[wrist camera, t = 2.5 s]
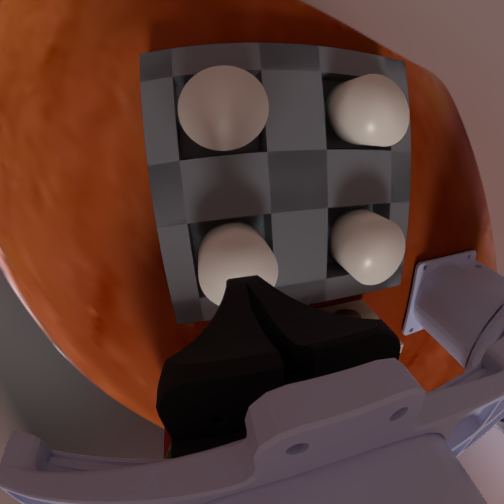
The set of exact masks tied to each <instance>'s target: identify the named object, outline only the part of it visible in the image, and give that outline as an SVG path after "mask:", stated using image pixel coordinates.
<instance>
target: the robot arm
mask: <svg viewBox="0 0 504 504" xmlns="http://www.w3.org/2000/svg"><path fill="white" fill-rule="evenodd" d="M476 254H477V253H476V251H475V250H471V251H467V252H462V253H458V254H454V255H449V256H445V257H441V258H436V259H432V260H427V261H423V262H419V263H418V264H417V265H416V268H415V274H414V279H413V285H412V290H411V295H410V300H409V304H408V309H407V313H406V318H405V322H404V326H403V330H402V333H403V334H404V335H408V334H411V333H414V332H417V331H419V330H422V329H425V330H426V331H427V332H428V333H429V334H430V335H431V336H432V337H433V338H435V339H436V340H437V341H438V342H439V343H440V344H441V345H442V346H443V347H444V348H445V349H446V350H447V351H448V352H449V353H450V354H451V355H452V356H453V357H454V358H455V359H456V360H457V361H458V362H459V363H460V364H461V365H462V366H463V367H464V368H465V371H464V373H463V374H461V375H460V376H458V377H456V378H455V379H453V380H451V381H449V382H447V383H446V384H444V385H442V386H440V387H438V388H436V389H434V390H432V391H429V392H425V391H424V389H423V388H422V387H421V386H420V384H419V383H418V382H417V381H416V379H415V378H414V377H413V376H412V375H411V373H410V372H409V371H408V370H407V369H406V367H405V366H404V365H403V364H402V363H401V362H399V361H398V359H399V356H400V350H401V345H400V340H399V339H398V337H397V336H396V334H395V333H394V332H393V331H392V330H391V329H390V328H389V327H388V326H387V325H386V324H385V323H384V322H383V321H382V320H381V319H366V318H355V317H349V316H343V315H338V314H334V313H330V312H326V311H323V310H320V309H317V308H314V307H311V306H309V305H306V304H304V303H302V302H299V301H297V300H295V299H293V298H292V297H290V296H288V295H286V294H284V293H283V292H281V291H280V290H278V289H276V288H275V287H273V286H272V285H271V284H269V283H268V282H266V281H265V280H264V279H262V278H261V277H259V276H258V275H253V276H246V277H239V278H232V279H228V280H227V281H226V289H225V293H224V295H223V298H222V301H221V303H220V305H219V307H218V309H217V311H216V313H215V315H214V317H213V318H212V320H211V321H210V323H209V324H208V326H207V327H206V328H205V329H204V331H203V332H202V333H201V334H200V335H199V336H198V337H197V338H196V339H195V340H194V341H193V342H192V343H191V344H189V345H188V346H187V347H186V348H184V349H183V350H181V351H180V352H178V353H177V354H175V355H174V356H172V357H170V358H169V359H167V360H166V361H165V364H164V366H163V369H162V372H161V376H160V380H159V384H158V390H157V402H156V408H157V412H158V415H159V417H160V419H161V421H162V423H163V425H164V427H165V429H166V430H167V432H168V434H169V436H170V438H171V459H125V458H110V457H97V456H88V455H80V454H73V453H66V452H60V451H54V450H50V449H49V447H48V446H47V445H46V443H45V442H44V441H42V440H41V439H40V438H38V437H36V436H34V435H31V434H26V433H21V432H17V431H12V432H11V434H10V437H9V440H8V442H7V445H6V448H5V451H4V454H3V457H2V460H1V463H0V488H1V489H2V490H3V491H5V492H6V493H7V494H9V495H10V496H12V497H13V498H14V499H16V500H17V501H19V502H20V503H22V504H487V502H486V501H485V499H484V498H483V497H482V495H481V493H480V492H479V490H478V489H477V487H476V486H475V484H474V483H473V481H472V480H471V478H470V477H469V475H468V474H467V472H466V471H465V469H464V468H463V467H462V465H461V464H460V462H459V461H458V459H457V458H456V457H458V456H459V455H460V454H461V453H463V452H464V451H465V450H466V449H468V448H469V447H470V446H471V445H473V444H474V443H475V442H476V441H477V440H478V439H479V438H481V437H482V436H483V435H484V434H485V433H486V432H487V431H489V429H491V428H492V427H495V428H497V429H498V430H500V431H501V432H503V433H504V277H503V276H501V275H500V274H498V273H497V272H495V271H493V270H492V269H490V268H488V267H487V266H485V265H483V264H481V263H480V262H478V261H476V260H475V259H476Z"/></svg>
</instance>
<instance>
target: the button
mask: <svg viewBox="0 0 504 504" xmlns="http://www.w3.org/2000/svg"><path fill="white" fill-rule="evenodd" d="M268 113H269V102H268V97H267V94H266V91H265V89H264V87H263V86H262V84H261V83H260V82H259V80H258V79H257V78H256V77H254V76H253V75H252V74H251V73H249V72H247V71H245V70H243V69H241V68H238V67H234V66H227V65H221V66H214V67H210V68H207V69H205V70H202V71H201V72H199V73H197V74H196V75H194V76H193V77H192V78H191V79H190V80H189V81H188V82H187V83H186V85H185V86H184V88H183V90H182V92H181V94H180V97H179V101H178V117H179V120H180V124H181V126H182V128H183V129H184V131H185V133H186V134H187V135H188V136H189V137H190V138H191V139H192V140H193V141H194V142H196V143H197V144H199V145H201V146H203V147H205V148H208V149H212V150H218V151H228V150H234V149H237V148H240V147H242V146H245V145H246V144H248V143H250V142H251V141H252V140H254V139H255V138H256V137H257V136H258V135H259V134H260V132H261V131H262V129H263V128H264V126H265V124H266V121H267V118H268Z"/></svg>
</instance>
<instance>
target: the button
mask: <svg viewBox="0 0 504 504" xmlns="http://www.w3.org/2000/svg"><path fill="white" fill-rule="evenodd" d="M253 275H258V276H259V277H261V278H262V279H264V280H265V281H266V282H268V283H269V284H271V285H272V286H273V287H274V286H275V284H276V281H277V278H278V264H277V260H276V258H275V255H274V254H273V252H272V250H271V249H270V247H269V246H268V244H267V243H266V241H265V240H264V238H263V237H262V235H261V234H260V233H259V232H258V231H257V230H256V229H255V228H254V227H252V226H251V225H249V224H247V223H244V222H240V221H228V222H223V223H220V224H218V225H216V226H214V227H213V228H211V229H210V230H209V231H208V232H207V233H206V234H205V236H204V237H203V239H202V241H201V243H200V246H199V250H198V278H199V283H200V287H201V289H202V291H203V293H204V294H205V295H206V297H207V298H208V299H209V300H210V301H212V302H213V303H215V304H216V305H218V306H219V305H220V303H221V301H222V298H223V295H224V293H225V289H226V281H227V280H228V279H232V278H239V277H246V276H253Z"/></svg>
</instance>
